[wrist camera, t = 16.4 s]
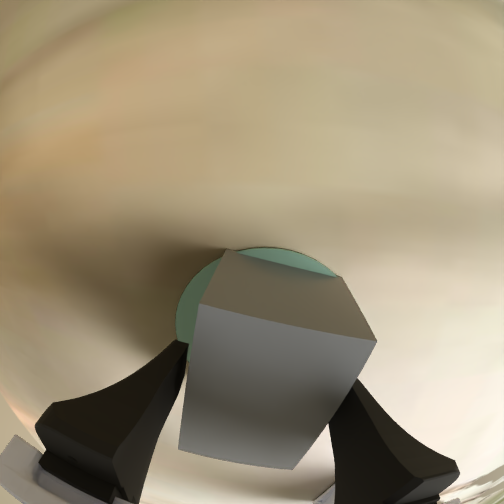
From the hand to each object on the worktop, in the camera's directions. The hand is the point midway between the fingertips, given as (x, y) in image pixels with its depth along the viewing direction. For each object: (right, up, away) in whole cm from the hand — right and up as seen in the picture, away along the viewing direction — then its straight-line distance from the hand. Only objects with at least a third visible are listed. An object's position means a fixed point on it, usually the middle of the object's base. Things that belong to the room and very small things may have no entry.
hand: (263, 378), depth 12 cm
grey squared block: (0, +1, +3) cm, 4 cm away
